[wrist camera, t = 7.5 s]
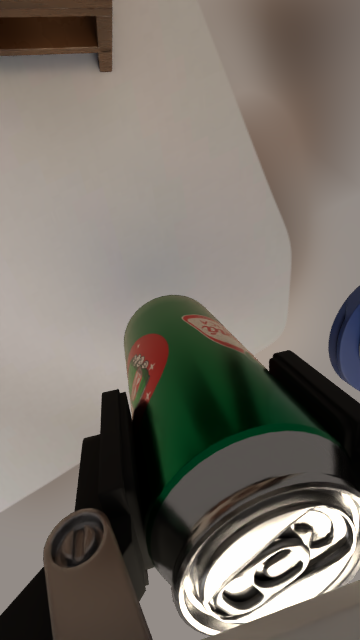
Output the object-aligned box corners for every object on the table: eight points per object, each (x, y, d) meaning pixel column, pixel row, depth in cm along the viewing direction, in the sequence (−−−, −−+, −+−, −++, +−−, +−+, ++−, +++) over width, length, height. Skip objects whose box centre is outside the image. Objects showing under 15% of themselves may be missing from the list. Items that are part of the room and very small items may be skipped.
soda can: (228, 339, 18) (422, 547, 7) (161, 391, 18) (243, 677, 7) (179, 272, 16) (339, 413, 5) (103, 332, 16) (90, 597, 5)
